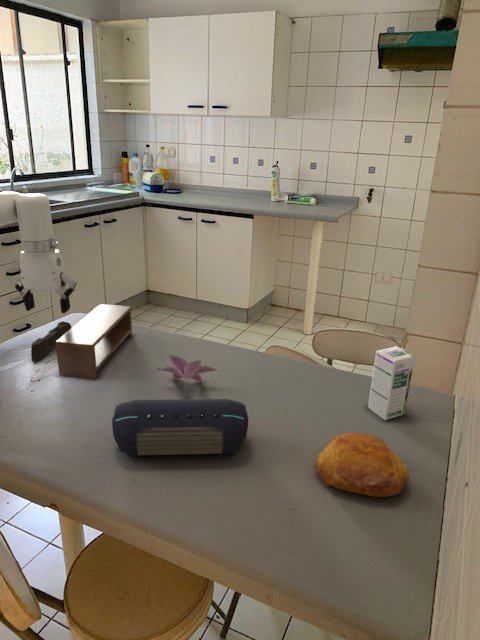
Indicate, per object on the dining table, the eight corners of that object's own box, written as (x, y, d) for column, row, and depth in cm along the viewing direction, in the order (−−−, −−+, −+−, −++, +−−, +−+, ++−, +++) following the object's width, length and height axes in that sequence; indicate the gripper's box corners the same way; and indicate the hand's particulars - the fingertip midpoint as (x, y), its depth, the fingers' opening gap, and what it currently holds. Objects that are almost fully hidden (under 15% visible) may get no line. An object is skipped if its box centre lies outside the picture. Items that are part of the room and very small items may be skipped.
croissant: (401, 522, 76) (417, 486, 72) (308, 490, 79) (320, 454, 75) (398, 464, 89) (412, 431, 85) (319, 438, 91) (329, 406, 88)
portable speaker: (109, 468, 82) (105, 420, 78) (118, 433, 91) (115, 389, 87) (249, 464, 84) (252, 418, 80) (244, 431, 93) (247, 388, 90)
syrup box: (385, 421, 99) (396, 360, 93) (366, 407, 104) (376, 349, 98) (404, 415, 101) (416, 355, 96) (385, 401, 106) (396, 344, 101)
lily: (223, 395, 108) (221, 354, 109) (195, 398, 98) (193, 353, 99) (180, 396, 113) (179, 357, 115) (150, 400, 103) (148, 356, 104)
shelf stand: (59, 375, 111) (55, 341, 108) (102, 332, 135) (100, 303, 132) (95, 379, 110) (92, 345, 107) (132, 335, 134) (130, 306, 131)
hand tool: (59, 332, 134) (57, 318, 132) (72, 334, 133) (71, 319, 132) (22, 362, 116) (20, 346, 115) (37, 364, 116) (35, 347, 114)
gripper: (78, 244, 117) (85, 307, 123) (14, 240, 119) (24, 303, 125) (64, 251, 110) (72, 317, 117) (-4, 247, 112) (8, 313, 118)
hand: (48, 310), depth 121 cm, fingers open, 9 cm apart
